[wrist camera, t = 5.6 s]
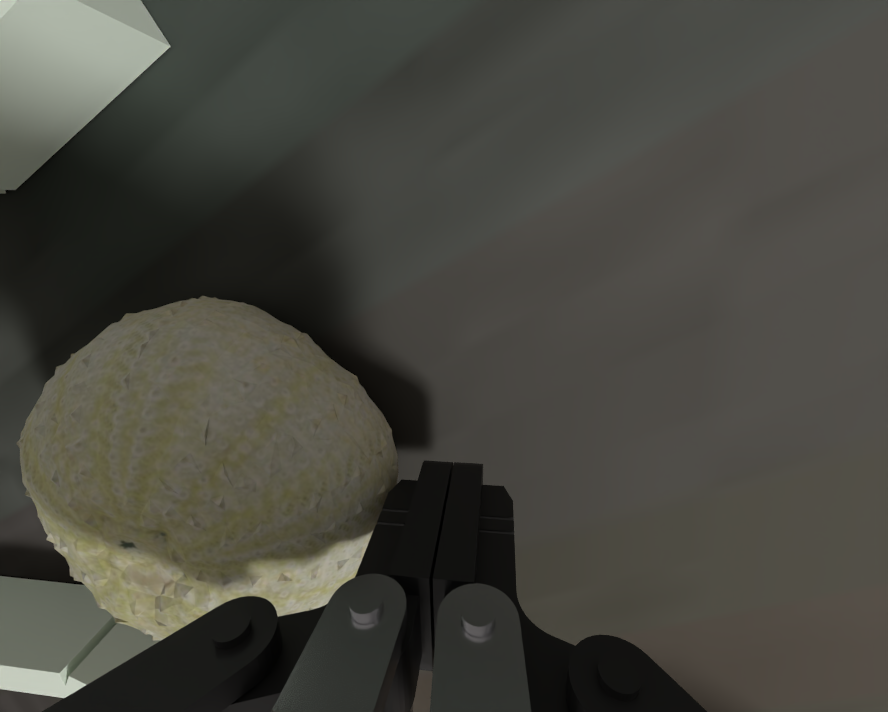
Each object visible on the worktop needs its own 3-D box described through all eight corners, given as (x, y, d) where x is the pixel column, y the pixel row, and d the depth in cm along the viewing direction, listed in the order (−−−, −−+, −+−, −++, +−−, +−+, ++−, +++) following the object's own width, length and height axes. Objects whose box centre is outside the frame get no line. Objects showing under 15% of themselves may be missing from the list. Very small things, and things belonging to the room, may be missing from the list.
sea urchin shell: (109, 605, 13) (-300, 662, 6) (202, 377, 17) (5, 242, 10) (390, 653, 13) (292, 784, 5) (429, 403, 16) (401, 276, 9)
